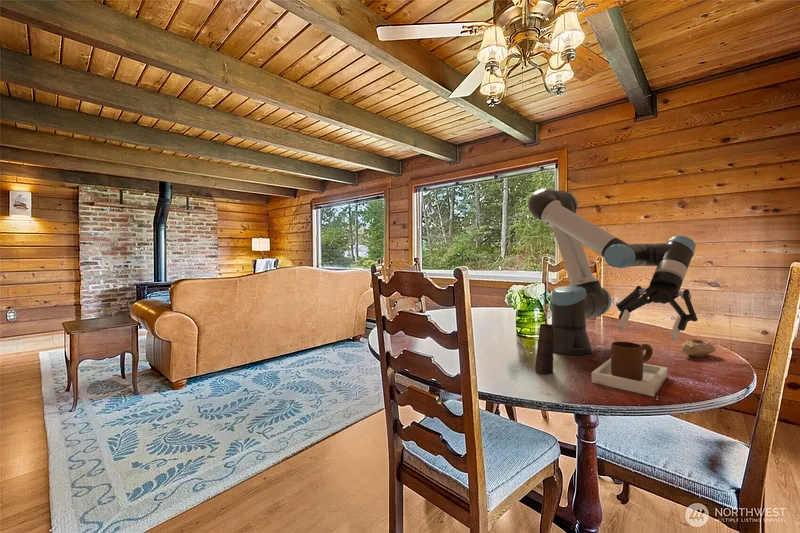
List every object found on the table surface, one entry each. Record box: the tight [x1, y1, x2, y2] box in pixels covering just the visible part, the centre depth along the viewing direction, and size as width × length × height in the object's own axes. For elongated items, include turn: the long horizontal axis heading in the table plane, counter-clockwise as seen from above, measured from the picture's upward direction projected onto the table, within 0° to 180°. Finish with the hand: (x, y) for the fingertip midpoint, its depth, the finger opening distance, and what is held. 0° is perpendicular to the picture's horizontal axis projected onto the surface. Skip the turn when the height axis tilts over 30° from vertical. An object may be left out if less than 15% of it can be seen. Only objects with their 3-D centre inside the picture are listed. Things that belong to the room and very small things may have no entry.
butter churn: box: [534, 280, 554, 375], centre depth 106 cm, size 9×10×28 cm
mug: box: [610, 341, 654, 381], centre depth 99 cm, size 12×8×9 cm, turn 100°
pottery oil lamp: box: [680, 338, 717, 358], centre depth 120 cm, size 9×12×7 cm
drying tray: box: [591, 357, 668, 397], centre depth 99 cm, size 14×18×3 cm
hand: (645, 333), depth 102 cm, fingers open, 13 cm apart
